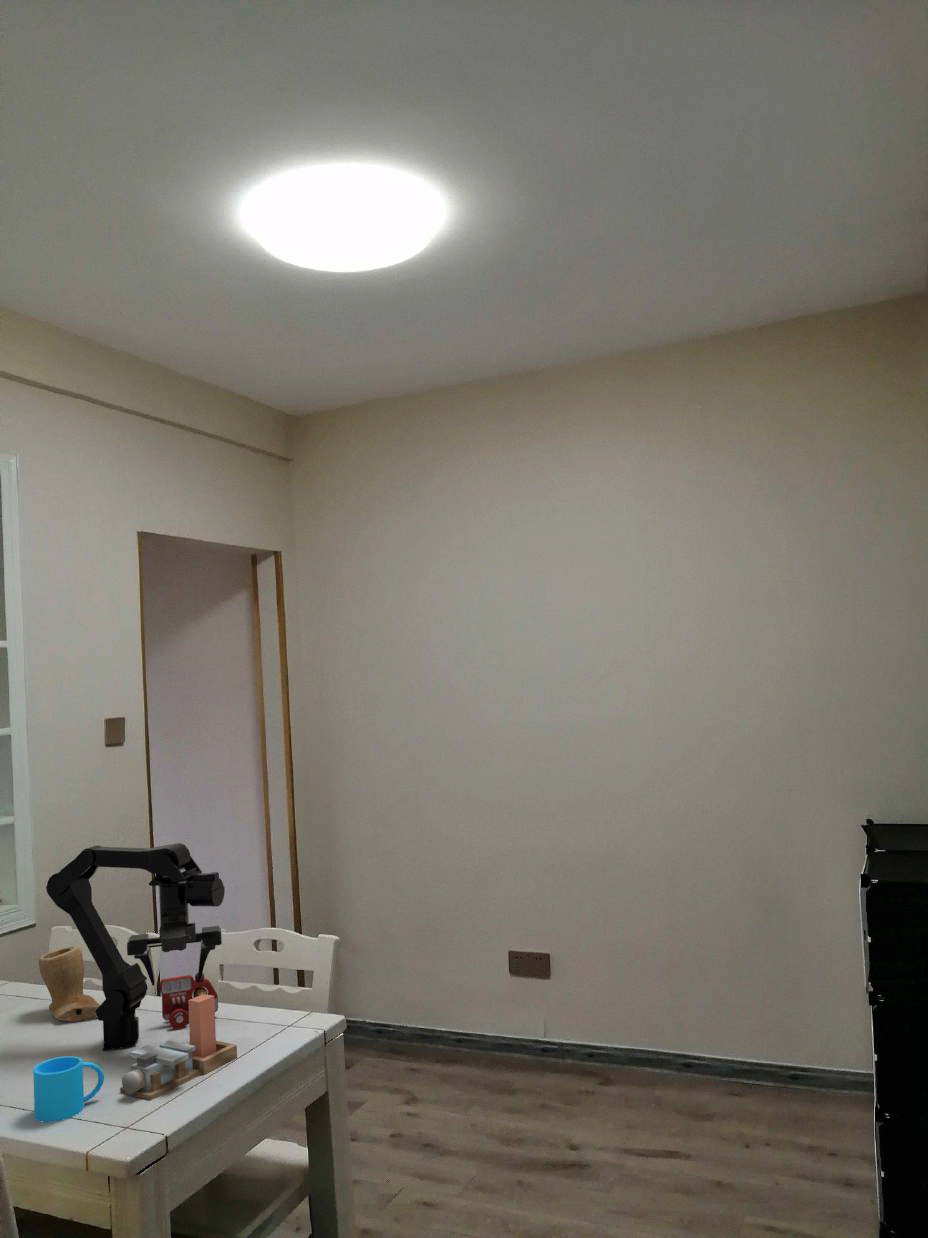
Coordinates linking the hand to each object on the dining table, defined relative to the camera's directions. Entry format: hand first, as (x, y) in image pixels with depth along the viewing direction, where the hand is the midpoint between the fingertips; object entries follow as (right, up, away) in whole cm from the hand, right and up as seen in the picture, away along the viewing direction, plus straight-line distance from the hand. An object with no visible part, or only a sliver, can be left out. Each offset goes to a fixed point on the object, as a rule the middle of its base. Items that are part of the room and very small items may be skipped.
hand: (176, 982), depth 207 cm
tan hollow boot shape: (-31, -16, +22) cm, 41 cm away
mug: (-11, -13, -28) cm, 33 cm away
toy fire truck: (-1, -14, +13) cm, 19 cm away
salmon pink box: (+8, -12, -10) cm, 18 cm away
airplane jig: (+5, -12, -16) cm, 21 cm away
